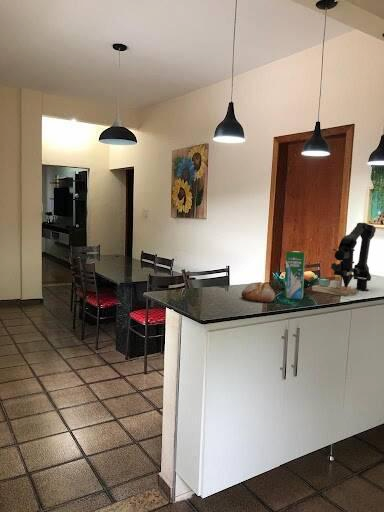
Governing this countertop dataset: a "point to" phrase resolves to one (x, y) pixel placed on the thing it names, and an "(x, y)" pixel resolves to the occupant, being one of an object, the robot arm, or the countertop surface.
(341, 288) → the key terracotta
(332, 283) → the key ivory
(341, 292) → the wooden cutting board
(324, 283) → the key teal
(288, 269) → the milk carton
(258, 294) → the bread
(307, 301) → the countertop surface
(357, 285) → the robot arm
